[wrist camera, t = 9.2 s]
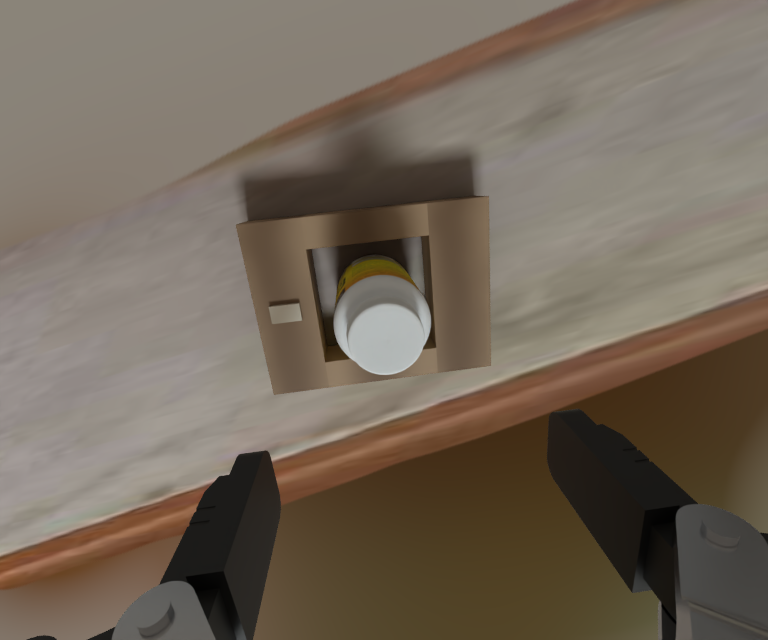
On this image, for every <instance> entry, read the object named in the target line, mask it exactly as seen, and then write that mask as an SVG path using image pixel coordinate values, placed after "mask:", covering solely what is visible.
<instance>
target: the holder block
mask: <svg viewBox="0 0 768 640" xmlns="http://www.w3.org/2000/svg"><path fill="white" fill-rule="evenodd" d="M236 228H237V233H238V237H239V242H240V246H241V250H242V255H243V259H244V264H245V268H246V273H247V277H248V282H249V286H250V291H251V295H252V299H253V304H254V308H255V313H256V317H257V322H258V326H259V331H260V335H261V340H262V344H263V348H264V353H265V357H266V362H267V366H268V371H269V375H270V380H271V384H272V389H273V393H274V395H276V394H283V393H291V392H298V391H306V390H313V389H321V388H328V387H336V386H343V385H351V384H358V383H366V382H373V381H381V380H388V379H396V378H403V377H410V376H418V375H425V374H433V373H440V372H448V371H455V370H463V369H470V368H478V367H485V366H491V330H490V253H489V196H468V197H459V198H450V199H441V200H433V201H424V202H415V203H406V204H397V205H388V206H379V207H370V208H361V209H352V210H343V211H334V212H325V213H316V214H307V215H299V216H290V217H281V218H272V219H263V220H254V221H247V222H243V223H240V224H237V225H236ZM419 236H421V240H422V254H423V268H424V282H425V296H426V302H427V304H428V306H429V310H430V314H431V328H430V333H429V336H428V339H427V341H426V343H425V345H424V346H423V350H422V352H421V354H420V356H419V357H418V359H417V360H416V361H415V362H414V363H413V364H412V365H411V366H410V367H408V368H407V369H405V370H403V371H401V372H399V373H396V374H391V375H379V374H374V373H371V372H369V371H367V370H365V369H363V368H362V367H360V366H359V365H358V364H357V363H356V362H355V361H353V360H352V359H351V358H349V357H348V356H347V355H346V354H345V353H344V351H343V350H342V349H341V347H340V346H339V345H333V346H327V341H326V335H325V329H324V323H323V317H322V311H321V305H320V299H319V293H318V286H317V280H316V274H315V268H314V262H313V256H312V250H311V249H315V248H324V247H333V246H341V245H350V244H358V243H367V242H376V241H384V240H393V239H401V238H410V237H419Z"/></svg>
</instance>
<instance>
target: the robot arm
mask: <svg viewBox="0 0 768 640" xmlns="http://www.w3.org/2000/svg"><path fill="white" fill-rule="evenodd" d="M547 460H548V466H549V469H550V472H551V475H552V477H553V479H554V480H555V482H556V484H557V485H558V486H559V488H560V489H561V491H562V492H563V494H564V495H565V496H566V498H567V499H568V501H569V502H570V504H571V505H572V507H573V508H574V509H575V511H576V512H577V514H578V515H579V517H580V518H581V520H582V521H583V523H584V524H585V525H586V527H587V528H588V530H589V531H590V533H591V534H592V536H593V537H594V538H595V540H596V541H597V543H598V544H599V546H600V547H601V549H602V550H603V551H604V553H605V554H606V556H607V557H608V559H609V560H610V562H611V563H612V564H613V566H614V567H615V569H616V570H617V572H618V573H619V575H620V576H621V577H622V579H623V580H624V582H625V583H626V585H627V586H628V588H629V589H630V590H631V592H632V593H635V592H642V591H648V590H652V591H653V592H654V593H655V594H656V596H657V597H658V599H659V600H660V602H659V606H658V639H659V640H768V534H766V533H759V532H758V530H756V529H755V528H754V527H753V526H752V525H750V524H749V523H748V522H746V521H745V520H743V519H742V518H740V517H738V516H736V515H734V514H733V513H731V512H728V511H726V510H723V509H720V508H717V507H714V506H709V505H703V504H698V503H697V502H696V501H694V500H693V499H692V498H691V497H690V496H689V495H688V494H687V493H686V492H685V491H684V490H683V489H681V488H680V487H679V486H678V485H677V484H676V483H675V482H674V481H673V480H671V479H670V478H669V477H668V476H667V475H666V474H665V473H664V472H663V471H662V470H661V469H659V468H658V467H657V466H656V465H655V464H654V463H653V462H650V461H649V459H648V458H647V457H646V456H645V455H644V454H643V453H642V452H641V451H640V450H637V448H636V447H635V446H634V445H633V444H632V443H631V442H630V441H629V440H628V439H627V438H625V437H624V436H623V435H622V434H620V433H618V432H616V431H614V430H613V429H611V428H609V427H607V426H605V425H603V424H600V425H596V424H595V423H594V422H593V421H592V420H591V419H590V418H589V417H588V416H587V415H586V414H585V413H584V412H583V411H582V410H580V409H573V410H566V411H559V412H552V413H551V414H550V416H549V426H548V449H547ZM196 509H197V511H196V512H195V513H194V515H193V517H192V519H191V521H190V523H189V524H190V525H189V527H187V529H186V531H185V533H184V535H183V537H182V539H181V541H180V543H179V545H178V547H177V549H176V551H175V553H174V556H173V558H172V560H171V562H170V564H169V566H168V568H167V570H166V572H165V574H164V576H163V578H162V580H161V582H160V584H159V585H158V586H156V587H154V588H152V589H151V590H149V591H147V592H146V593H144V594H143V595H142V596H140V597H139V598H138V599H137V600H136V601H135V602H134V603H132V605H131V606H130V607H129V608H128V609H127V610H126V611H125V612H124V614H123V615H122V617H121V618H120V620H119V621H118V623H117V625H116V627H114V628H112V629H110V630H108V631H106V632H104V633H102V634H99V635H97V636H94V637H92V638H90V639H88V640H253V636H254V632H255V627H256V623H257V618H258V614H259V609H260V605H261V600H262V596H263V591H264V587H265V582H266V578H267V573H268V569H269V564H270V560H271V555H272V551H273V546H274V542H275V537H276V533H277V528H278V524H279V519H280V510H281V502H280V494H279V490H278V486H277V481H276V477H275V473H274V469H273V465H272V461H271V457H270V454H269V452H268V451H259V452H252V453H245V454H239V455H238V456H237V458H236V461H235V463H234V465H233V468H232V470H231V472H230V475H225V476H219V477H218V478H217V479H216V480H215V482H214V483H213V484H212V485H211V486H210V487H209V488H208V489H207V490H206V491H205V492H204V494H203V496H202V498H201V500H200V502H199V504H198V506H197V508H196ZM27 640H56V639H55V638H54V637H51V636H37V637H34V638H30V639H27Z"/></svg>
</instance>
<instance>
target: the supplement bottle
mask: <svg viewBox="0 0 768 640" xmlns="http://www.w3.org/2000/svg"><path fill="white" fill-rule="evenodd" d="M333 324H334V332H335V336H336V339H337V342H338V344H339V346H340V347H341V349H342V350H343V351H344V353H345V354H346V355H347V356H348V357H349V358H351V359H352V360H353V361H355V362H356V363H357V364H358V365H359V366H360V367H362V368H363V369H365V370H367V371H369V372H371V373H374V374H379V375H391V374H396V373H399V372H401V371H403V370H405V369H407V368H408V367H410V366H411V365H412V364H413V363H414V362H415V361H416V360H417V359H418V357H419V356H420V354H421V352H422V350H423V346H424V345H425V343H426V341H427V339H428V336H429V333H430V328H431V314H430V310H429V306H428V304H427V302H426V300H425V298H424V296H423V295H422V293H421V292H420V291H419V289H418V288H417V286H416V285H415V283H414V282H413V280H412V279H411V278H410V276H409V275H408V273H407V272H406V270H405V269H404V268H403V267H402V266H401V265H400V264H399V263H398V262H397V261H395V260H394V259H392V258H389V257H387V256H383V255H367V256H363V257H361V258H358V259H357V260H355V261H353V262H352V263H351V264H350V265H349V266H348V267H347V268H346V269H345V270H344V272H343V273H342V275H341V277H340V279H339V283H338V287H337V295H336V303H335V311H334V321H333Z"/></svg>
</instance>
